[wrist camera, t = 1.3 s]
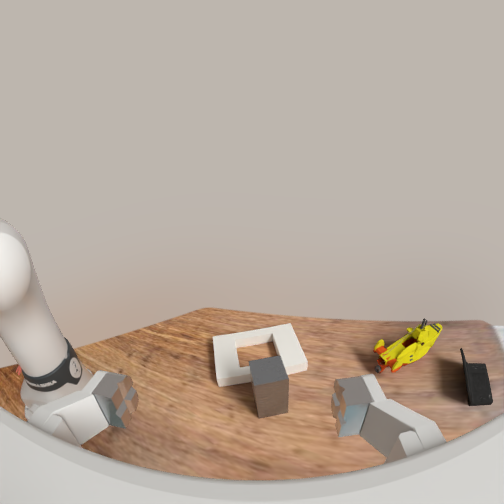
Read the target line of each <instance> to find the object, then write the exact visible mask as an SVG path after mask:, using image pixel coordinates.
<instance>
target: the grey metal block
mask: <svg viewBox="0 0 504 504" xmlns="http://www.w3.org/2000/svg"><path fill="white" fill-rule="evenodd" d="M249 367H250V374H251V381H252V387H253V394H254V399H255V404H256V408H257V412H258V417H259V418H264V417H269V416H274V415H279V414H283V413H288V390H289V378H288V375H287V373H286V370H285V367H284V364H283V361H282V359H281V356H280V355H279V356H274V357H269V358H264V359H259V360H253V361H249Z"/></svg>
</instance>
